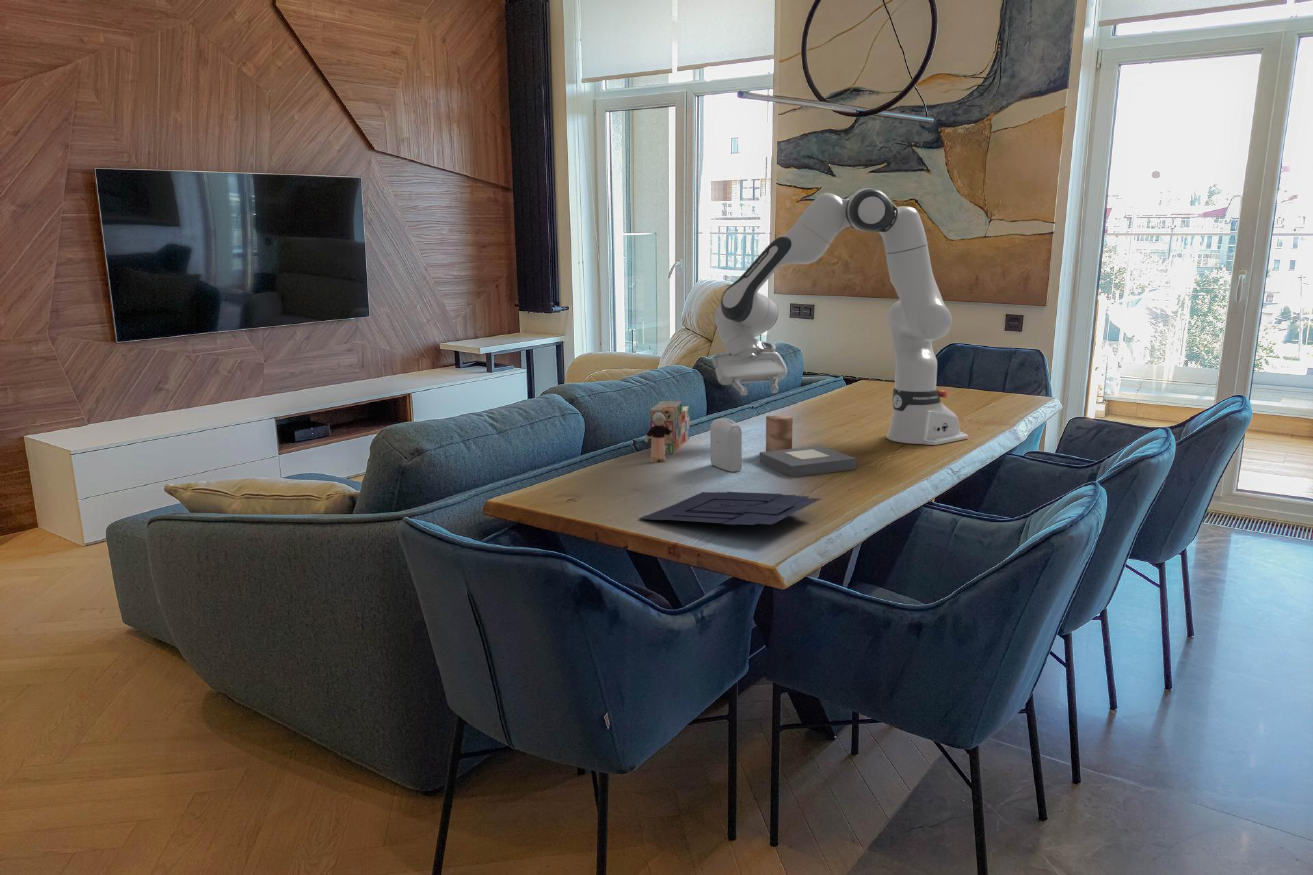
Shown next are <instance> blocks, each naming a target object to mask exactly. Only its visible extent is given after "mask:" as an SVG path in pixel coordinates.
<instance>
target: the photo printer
mask: <svg viewBox="0 0 1313 875" xmlns="http://www.w3.org/2000/svg"><path fill="white" fill-rule="evenodd" d="M709 429H710V430H709V431H710V464H711V465H712V466H715V467H717V468H719V469H721V470H725V471H728V472H730V473H734V472H735V473H736V472H740V471H741V470H742V469H743V468H742V466H743V465H742V464H743V463H742V458H743V457H742V451H743V450H742V444H743V443H742V439H743V438H742V435H743V434H742V428H741V426H740V425H739V424H737V422H735V421H734V420H732V419H730V418H727V417H721V418H716V419H714V420H713V421H712V422H711V424H710V428H709Z"/></svg>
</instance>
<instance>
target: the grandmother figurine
mask: <svg viewBox="0 0 1313 875" xmlns="http://www.w3.org/2000/svg"><path fill="white" fill-rule="evenodd" d="M652 419H653V421H654V424H655V425H656V426H653V427H652V428H651V427H650V429H649V430H648V432H647V433H646V436H645V438H644V442H645V443H648V442H649V440H650V439H651V436H653V438H652V445H651V444H650V460H649V462H650V463H658V461H659V462H667V460H668V459H667V458H666V454H665V436H664V435H665V434H666V435H668V436H669V439H672V438H673V436H672V434H671V431H670V430H669V429H668V428H667V427H665V426H662V425H663V423H664V421H665V416H664V415H663V414H662V413H659V412H658V413H655V414H654V416H653V417H652Z"/></svg>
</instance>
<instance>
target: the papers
mask: <svg viewBox="0 0 1313 875" xmlns="http://www.w3.org/2000/svg"><path fill="white" fill-rule="evenodd" d="M820 500H821V498H818V497H817V498H816V497H814V498H813V497H811V496H809V495H808V496H807V495H804V496H803V495H796V494H783V493H773V492H772V493H770V492H769V493H768V492H767V493H766V492H745V491H744V492H743V491H742V492H741V491H740V492H739V491H736V492H735V491H727V492H725V491H724V492H723V491H717V492H712V491H711V492H710V491H709V492H707V491H704V492H703V491H702V492H699V493H698V494H695V495H693V496H691V497H688V498H686V499H684V500H682V501H679V502H678V503H675V504H672V505H670V506H667V507H664V508H662V509H659V510H657V511H654V512H651V513H649V514H647V515H643V516H642V517H639V518H638V519H641V520H650V521H651V520H652V521H655V520H656V521H658V520H659V521H678V522H679V521H680V522H681V521H683V522H694V523H695V522H696V523H698V522H700V523H714V524H715V523H716V524H720V525H749V526H754V525H757V524H758V525H759V524H760V525H774V524H776V523H778V522H779V521H782V520H784V519H785V518H788V517H789V516H791V515H793V514H795V513H797V512H798V511H800V510H802V509H804V508H806V507H808V506H810V505H812V504H814V503H816V502H818V501H820Z"/></svg>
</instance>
